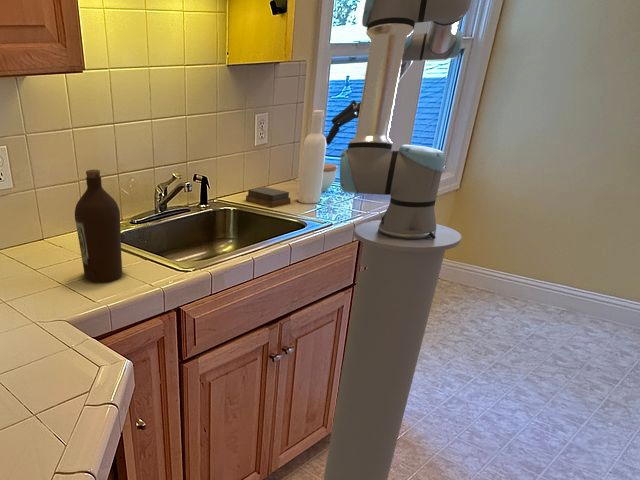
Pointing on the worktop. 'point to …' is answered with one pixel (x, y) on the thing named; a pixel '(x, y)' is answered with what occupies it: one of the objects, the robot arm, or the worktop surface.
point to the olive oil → (99, 231)
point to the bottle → (313, 161)
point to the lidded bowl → (328, 176)
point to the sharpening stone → (268, 197)
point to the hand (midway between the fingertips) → (341, 146)
